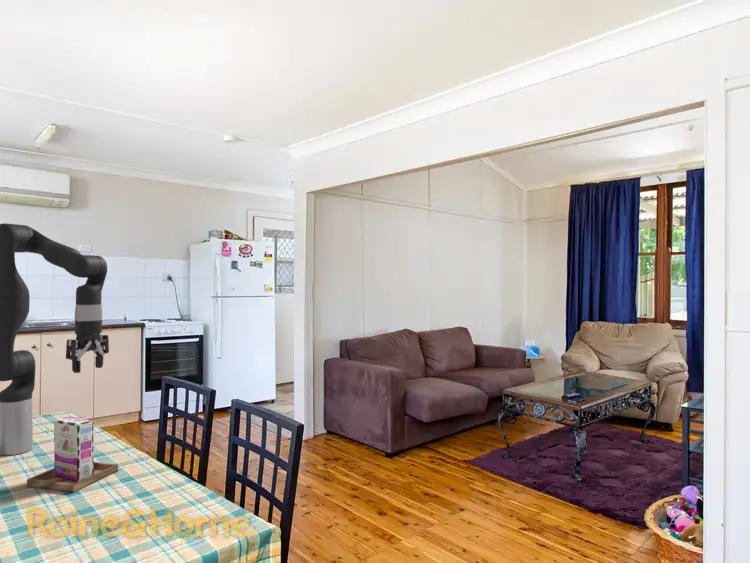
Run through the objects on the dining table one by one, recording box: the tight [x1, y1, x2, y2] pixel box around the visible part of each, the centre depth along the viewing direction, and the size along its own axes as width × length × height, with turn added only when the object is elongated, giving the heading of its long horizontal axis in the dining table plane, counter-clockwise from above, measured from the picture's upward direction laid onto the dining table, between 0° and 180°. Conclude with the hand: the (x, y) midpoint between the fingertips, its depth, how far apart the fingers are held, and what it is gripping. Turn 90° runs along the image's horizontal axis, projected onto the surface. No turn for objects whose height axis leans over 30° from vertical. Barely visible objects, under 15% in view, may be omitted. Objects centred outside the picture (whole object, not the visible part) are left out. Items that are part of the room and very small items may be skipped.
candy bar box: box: [53, 416, 94, 482], centre depth 149 cm, size 11×5×16 cm, turn 64°
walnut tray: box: [26, 461, 119, 494], centre depth 149 cm, size 16×16×2 cm
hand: (88, 370), depth 163 cm, fingers open, 8 cm apart
